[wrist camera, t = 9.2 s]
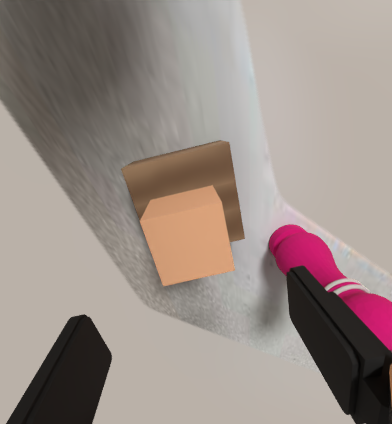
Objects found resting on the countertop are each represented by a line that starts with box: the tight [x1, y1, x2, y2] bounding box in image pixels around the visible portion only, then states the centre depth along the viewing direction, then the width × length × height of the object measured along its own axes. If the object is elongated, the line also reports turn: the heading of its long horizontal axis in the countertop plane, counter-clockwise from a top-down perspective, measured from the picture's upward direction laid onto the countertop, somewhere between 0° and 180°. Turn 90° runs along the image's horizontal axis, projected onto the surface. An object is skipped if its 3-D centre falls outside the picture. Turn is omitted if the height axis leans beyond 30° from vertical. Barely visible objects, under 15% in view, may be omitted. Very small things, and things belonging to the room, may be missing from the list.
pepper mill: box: [269, 225, 392, 352], centre depth 24 cm, size 7×7×20 cm
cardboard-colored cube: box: [140, 185, 235, 286], centre depth 18 cm, size 6×6×5 cm
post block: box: [121, 141, 245, 242], centre depth 27 cm, size 12×12×6 cm
